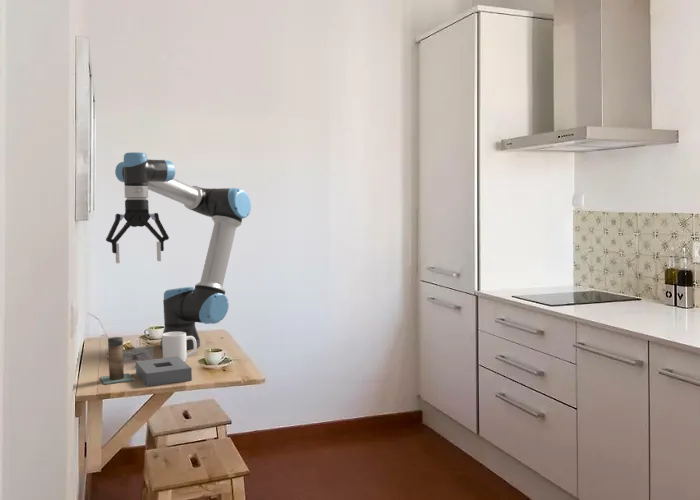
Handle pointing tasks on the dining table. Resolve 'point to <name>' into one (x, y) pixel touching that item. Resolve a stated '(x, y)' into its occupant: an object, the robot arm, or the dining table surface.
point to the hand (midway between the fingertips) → (138, 262)
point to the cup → (177, 345)
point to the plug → (115, 358)
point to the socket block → (163, 371)
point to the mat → (107, 381)
